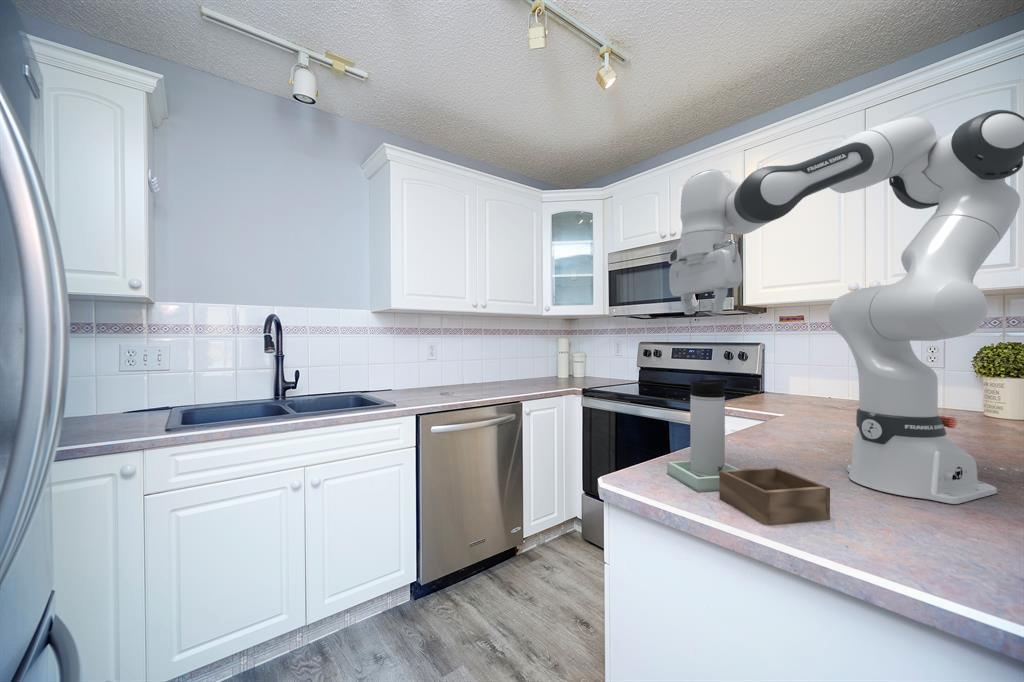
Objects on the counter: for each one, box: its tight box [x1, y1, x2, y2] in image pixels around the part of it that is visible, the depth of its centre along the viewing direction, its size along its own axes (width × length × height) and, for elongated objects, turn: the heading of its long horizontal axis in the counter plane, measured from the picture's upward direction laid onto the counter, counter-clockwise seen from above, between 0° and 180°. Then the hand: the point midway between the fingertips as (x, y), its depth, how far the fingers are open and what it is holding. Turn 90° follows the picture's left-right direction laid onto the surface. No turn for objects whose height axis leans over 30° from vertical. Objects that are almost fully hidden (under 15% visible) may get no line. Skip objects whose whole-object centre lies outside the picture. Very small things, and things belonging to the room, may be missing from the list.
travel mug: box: [689, 378, 728, 477], centre depth 83 cm, size 6×7×20 cm
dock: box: [666, 460, 740, 493], centre depth 83 cm, size 12×11×2 cm
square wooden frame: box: [718, 466, 831, 526], centre depth 69 cm, size 12×11×5 cm
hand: (702, 313), depth 89 cm, fingers open, 8 cm apart
